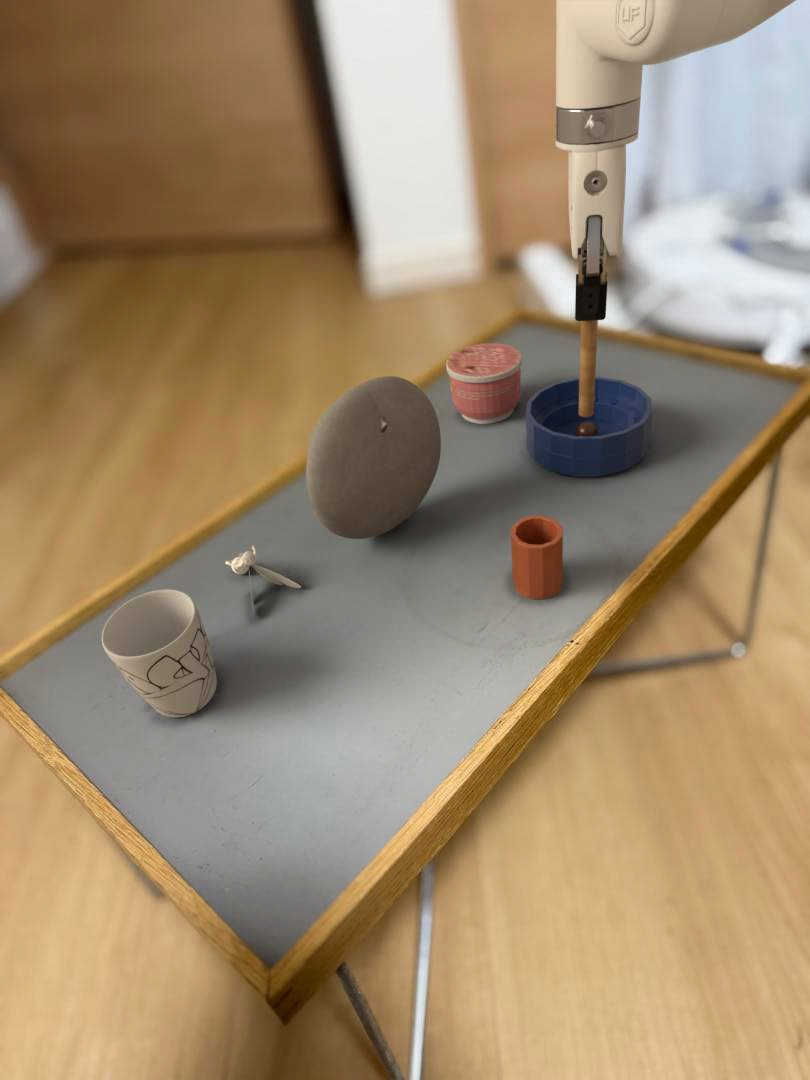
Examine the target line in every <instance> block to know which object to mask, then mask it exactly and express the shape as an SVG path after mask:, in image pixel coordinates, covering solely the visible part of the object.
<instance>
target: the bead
mask: <svg viewBox="0 0 810 1080" xmlns="http://www.w3.org/2000/svg"><path fill="white" fill-rule="evenodd" d="M575 436H599V428H598V426H597V425H596V424H595V423H594V422H591V421H584V422H582V423H580V424H579V425H578V426H577V428H576V430H575Z"/></svg>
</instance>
